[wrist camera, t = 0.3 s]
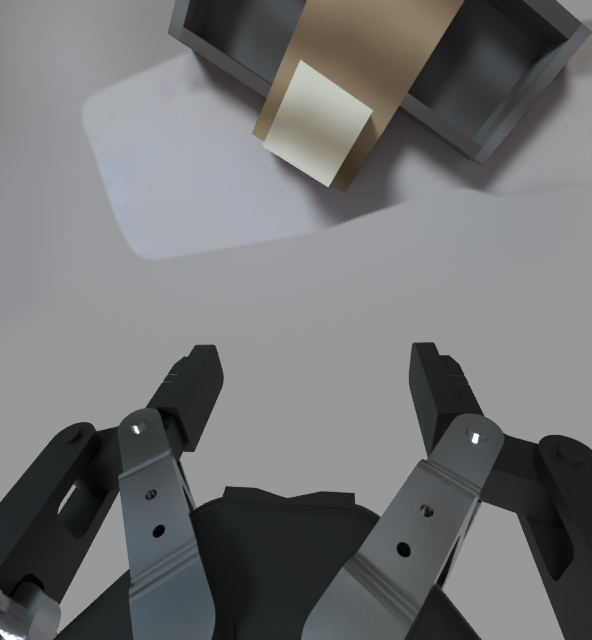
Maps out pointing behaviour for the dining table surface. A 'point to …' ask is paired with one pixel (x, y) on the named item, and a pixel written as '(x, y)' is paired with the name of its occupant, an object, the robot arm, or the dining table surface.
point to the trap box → (393, 59)
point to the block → (316, 124)
